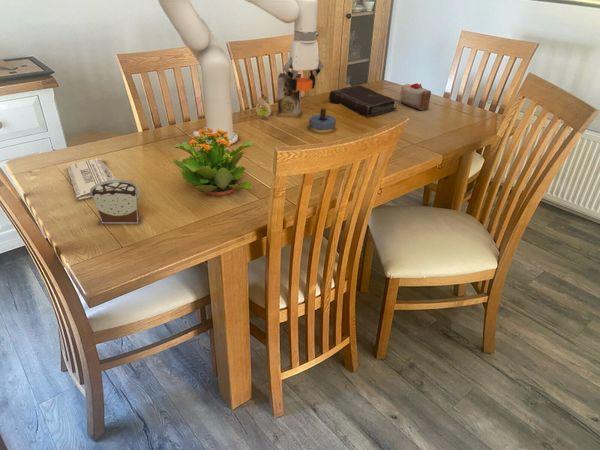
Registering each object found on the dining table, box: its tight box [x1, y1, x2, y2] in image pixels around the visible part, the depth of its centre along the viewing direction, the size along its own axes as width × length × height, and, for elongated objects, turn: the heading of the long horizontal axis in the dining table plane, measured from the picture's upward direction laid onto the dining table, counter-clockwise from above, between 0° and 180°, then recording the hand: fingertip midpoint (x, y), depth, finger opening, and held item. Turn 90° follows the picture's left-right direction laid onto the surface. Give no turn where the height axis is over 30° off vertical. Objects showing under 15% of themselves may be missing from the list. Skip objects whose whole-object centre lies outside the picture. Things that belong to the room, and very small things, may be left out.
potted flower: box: [172, 128, 254, 197], centre depth 135 cm, size 25×24×18 cm
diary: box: [328, 84, 399, 118], centre depth 207 cm, size 19×25×5 cm
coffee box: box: [277, 72, 302, 115], centre depth 193 cm, size 9×6×16 cm
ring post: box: [309, 107, 336, 131], centre depth 182 cm, size 10×10×8 cm
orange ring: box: [296, 77, 313, 92], centre depth 169 cm, size 6×6×3 cm
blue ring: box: [308, 114, 337, 131], centre depth 182 cm, size 10×10×2 cm
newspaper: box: [66, 157, 117, 200], centre depth 142 cm, size 23×12×2 cm, turn 30°
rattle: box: [255, 90, 272, 118], centre depth 190 cm, size 8×8×12 cm
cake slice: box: [89, 178, 141, 225], centre depth 122 cm, size 12×6×10 cm, turn 92°
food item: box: [400, 82, 432, 111], centre depth 208 cm, size 14×8×10 cm, turn 33°
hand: (302, 88), depth 170 cm, fingers closed on orange ring, 6 cm apart
